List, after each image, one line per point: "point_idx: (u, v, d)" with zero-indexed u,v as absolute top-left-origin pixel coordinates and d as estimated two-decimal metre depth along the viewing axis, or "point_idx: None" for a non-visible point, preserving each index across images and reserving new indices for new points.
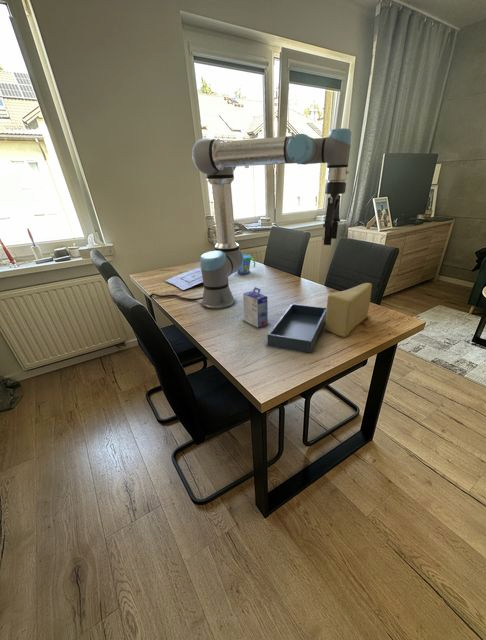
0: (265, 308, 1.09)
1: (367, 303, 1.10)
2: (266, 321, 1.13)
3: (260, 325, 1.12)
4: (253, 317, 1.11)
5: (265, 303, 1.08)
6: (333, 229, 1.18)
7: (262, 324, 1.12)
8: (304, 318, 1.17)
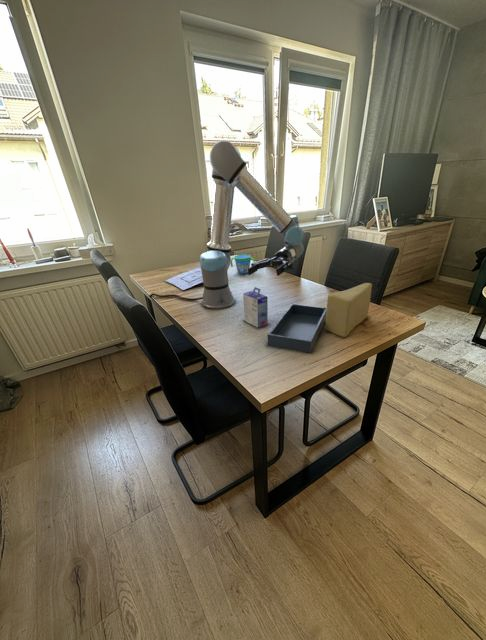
0: (265, 308, 1.09)
1: (367, 303, 1.10)
2: (266, 321, 1.13)
3: (260, 325, 1.12)
4: (253, 317, 1.11)
5: (265, 303, 1.08)
6: (253, 268, 1.20)
7: (262, 324, 1.12)
8: (304, 318, 1.17)
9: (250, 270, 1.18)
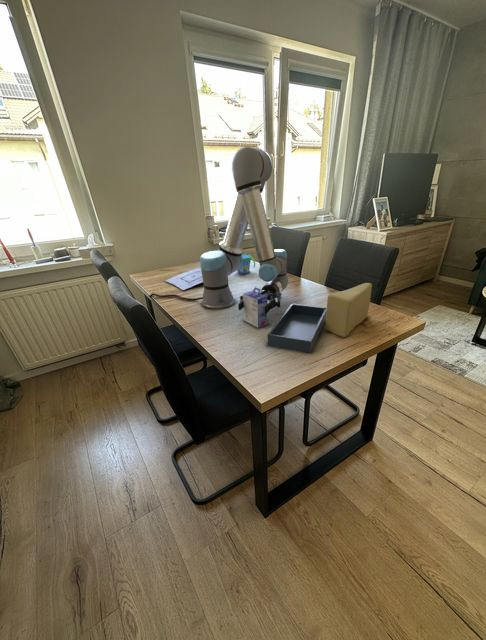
0: None
1: (367, 303, 1.10)
2: (266, 321, 1.13)
3: (260, 325, 1.12)
4: (253, 317, 1.11)
5: (265, 303, 1.08)
6: (243, 303, 1.14)
7: (262, 324, 1.12)
8: (304, 318, 1.17)
9: (240, 305, 1.12)
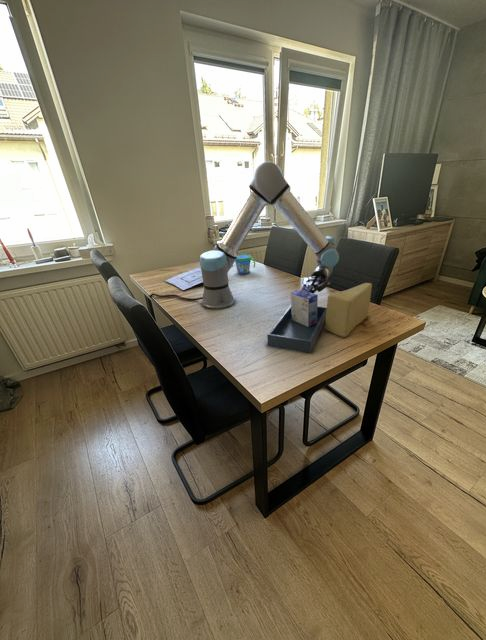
0: (315, 307, 1.07)
1: (367, 303, 1.10)
2: (316, 319, 1.11)
3: (310, 324, 1.09)
4: (303, 316, 1.09)
5: (315, 302, 1.06)
6: None
7: (312, 323, 1.10)
8: None
9: None
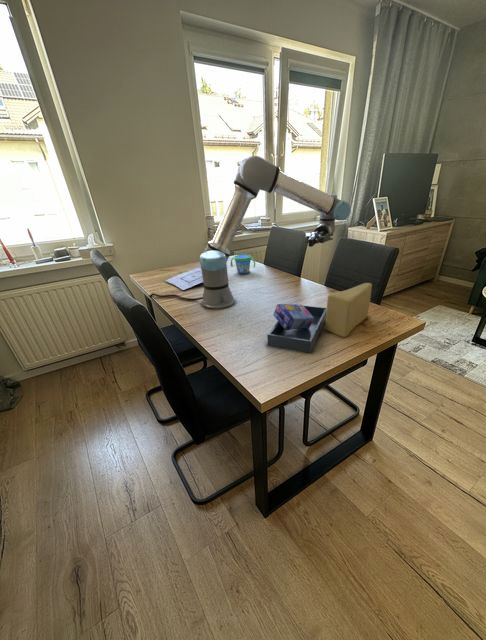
0: (298, 322, 1.02)
1: (367, 303, 1.10)
2: (311, 319, 1.05)
3: (309, 326, 1.08)
4: None
5: (294, 322, 1.01)
6: None
7: (309, 324, 1.07)
8: None
9: None
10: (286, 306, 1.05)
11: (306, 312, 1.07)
